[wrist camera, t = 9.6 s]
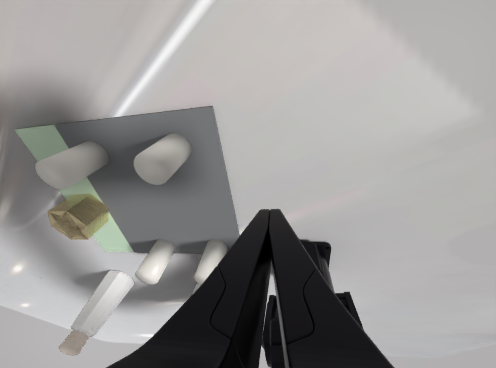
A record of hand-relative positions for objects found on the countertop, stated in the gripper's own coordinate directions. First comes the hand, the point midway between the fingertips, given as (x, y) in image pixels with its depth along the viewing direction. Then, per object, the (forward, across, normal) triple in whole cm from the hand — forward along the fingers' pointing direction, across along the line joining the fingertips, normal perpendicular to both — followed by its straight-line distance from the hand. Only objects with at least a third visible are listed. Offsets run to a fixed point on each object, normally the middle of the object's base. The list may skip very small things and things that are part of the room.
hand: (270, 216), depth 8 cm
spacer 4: (+12, +9, +15) cm, 21 cm away
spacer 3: (+12, +17, +15) cm, 26 cm away
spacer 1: (+12, +20, 0) cm, 23 cm away
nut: (+12, +25, +8) cm, 29 cm away
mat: (+12, +17, +7) cm, 22 cm away
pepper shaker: (+12, +30, +25) cm, 41 cm away
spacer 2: (+12, +10, 0) cm, 15 cm away
